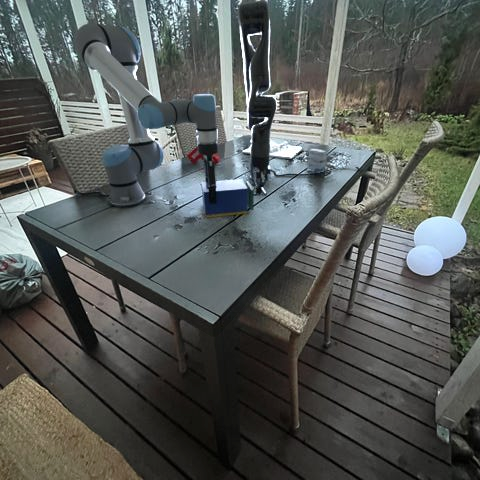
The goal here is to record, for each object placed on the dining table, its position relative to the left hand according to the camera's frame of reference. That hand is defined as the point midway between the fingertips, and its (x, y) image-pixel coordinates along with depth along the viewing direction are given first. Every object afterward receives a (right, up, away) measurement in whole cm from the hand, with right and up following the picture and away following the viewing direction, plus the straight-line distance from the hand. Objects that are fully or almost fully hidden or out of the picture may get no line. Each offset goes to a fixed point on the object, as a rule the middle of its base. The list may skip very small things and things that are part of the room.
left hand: (211, 197), depth 111 cm
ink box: (+55, +22, +45) cm, 75 cm away
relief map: (+36, +46, +82) cm, 101 cm away
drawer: (+11, -3, +5) cm, 13 cm away
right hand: (+20, +2, +4) cm, 20 cm away
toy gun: (-11, +31, +60) cm, 68 cm away
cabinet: (+5, -5, +4) cm, 8 cm away
